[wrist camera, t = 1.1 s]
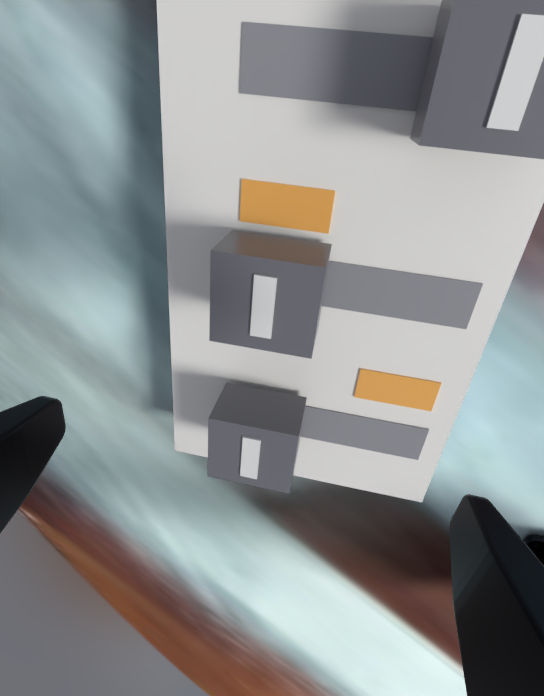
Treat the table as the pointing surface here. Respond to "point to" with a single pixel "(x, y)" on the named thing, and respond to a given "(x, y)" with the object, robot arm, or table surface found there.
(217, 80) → the switch unit
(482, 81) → the switch
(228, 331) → the switch middle
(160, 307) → the table surface
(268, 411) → the switch
